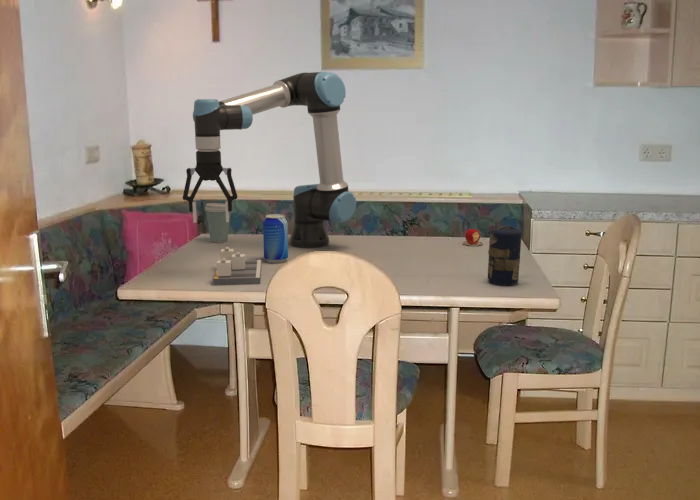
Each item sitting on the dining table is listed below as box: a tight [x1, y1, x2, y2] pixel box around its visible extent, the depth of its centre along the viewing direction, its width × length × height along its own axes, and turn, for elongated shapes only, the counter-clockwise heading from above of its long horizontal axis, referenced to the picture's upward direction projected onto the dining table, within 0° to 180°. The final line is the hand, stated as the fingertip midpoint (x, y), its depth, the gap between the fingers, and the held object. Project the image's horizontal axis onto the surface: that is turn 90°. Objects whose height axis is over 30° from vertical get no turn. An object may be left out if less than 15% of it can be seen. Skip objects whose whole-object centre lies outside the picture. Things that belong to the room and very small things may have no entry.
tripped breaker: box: [232, 251, 246, 270], centre depth 222 cm, size 4×4×5 cm
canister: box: [487, 225, 522, 286], centre depth 213 cm, size 10×10×18 cm
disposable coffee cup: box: [204, 203, 232, 244], centre depth 272 cm, size 11×11×15 cm
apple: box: [461, 228, 484, 247], centre depth 269 cm, size 8×8×6 cm
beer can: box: [262, 213, 289, 264], centre depth 240 cm, size 8×8×16 cm
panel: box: [213, 246, 262, 286], centre depth 222 cm, size 14×23×7 cm, turn 6°
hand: (211, 221), depth 218 cm, fingers open, 9 cm apart
